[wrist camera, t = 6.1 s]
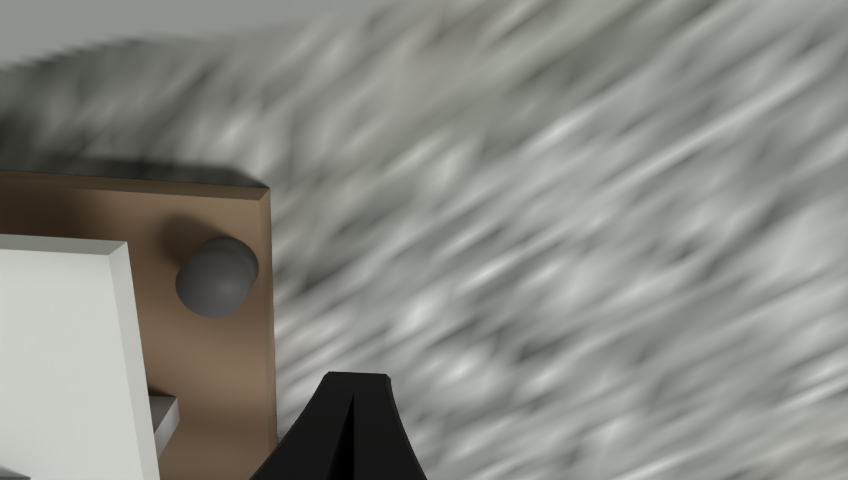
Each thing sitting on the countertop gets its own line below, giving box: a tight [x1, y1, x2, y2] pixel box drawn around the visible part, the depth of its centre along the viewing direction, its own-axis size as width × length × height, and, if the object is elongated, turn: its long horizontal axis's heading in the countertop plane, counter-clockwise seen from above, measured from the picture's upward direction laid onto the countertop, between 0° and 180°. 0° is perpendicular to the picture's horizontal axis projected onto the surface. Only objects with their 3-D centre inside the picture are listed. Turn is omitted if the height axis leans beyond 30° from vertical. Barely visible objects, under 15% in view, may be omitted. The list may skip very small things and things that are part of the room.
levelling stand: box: [0, 170, 277, 480], centre depth 20 cm, size 18×16×4 cm
